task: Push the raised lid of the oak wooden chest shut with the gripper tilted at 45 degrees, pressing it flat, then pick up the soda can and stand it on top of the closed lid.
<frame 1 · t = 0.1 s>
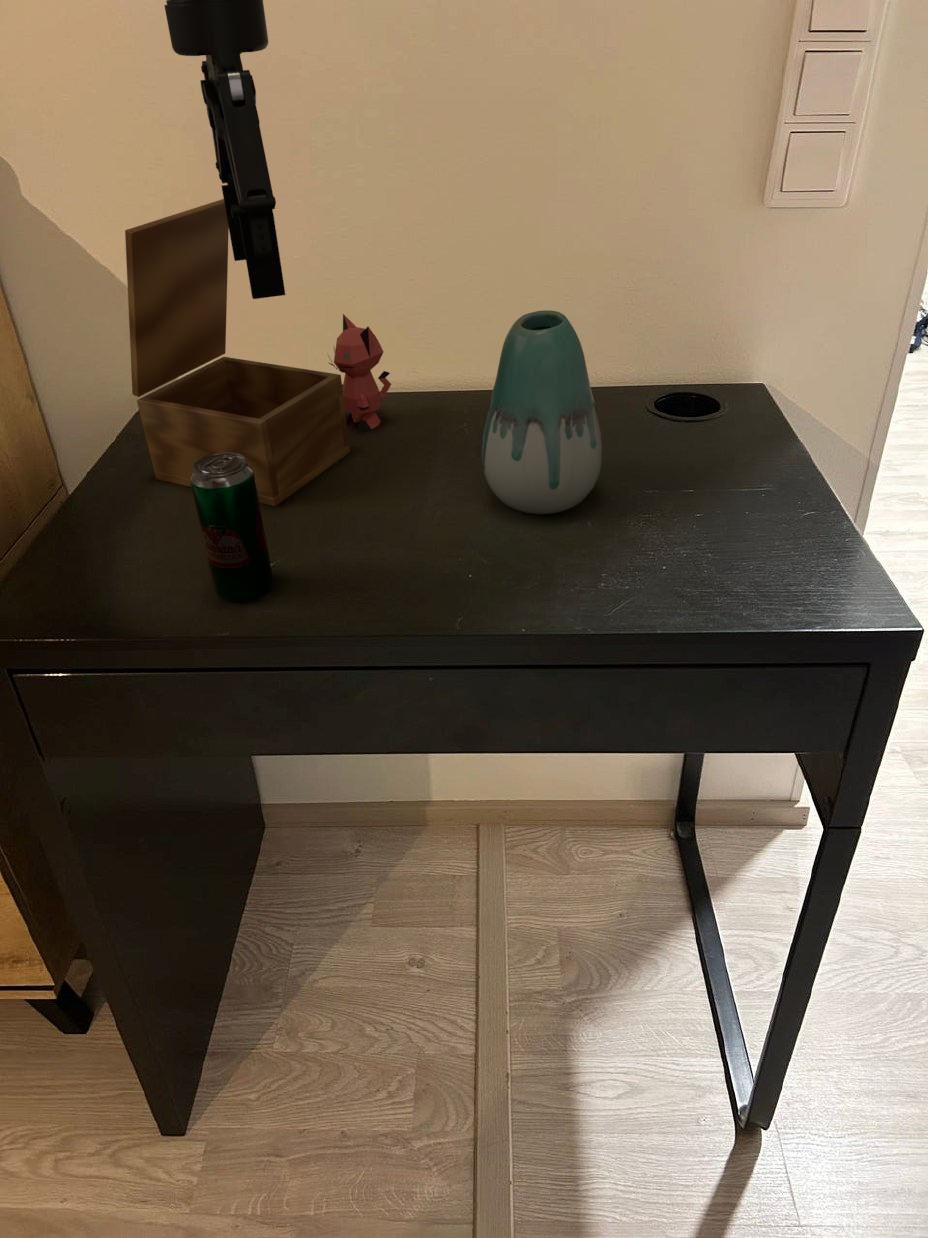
hand: (258, 276, 86), 22 cm above the table, tool pointing down, fingers open, 13 cm apart
chest: (254, 465, 104), on the table
vase: (541, 500, 95), on the table
soda can: (245, 591, 83), on the table
chest lid: (180, 298, 96), point 17 cm above the table, hinge at 75.0°
cat figurine: (366, 422, 113), on the table
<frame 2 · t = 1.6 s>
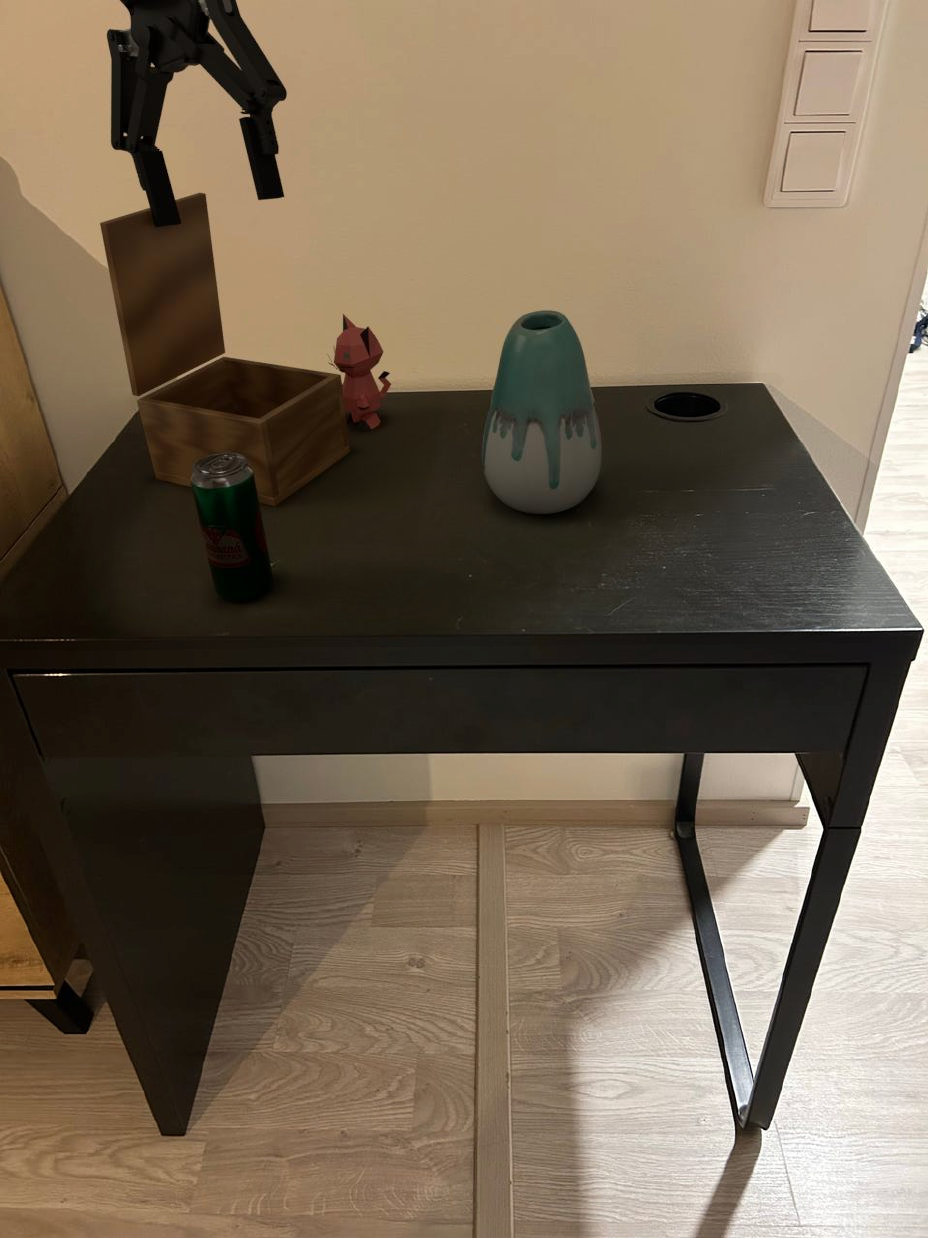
hand: (218, 212, 88), 26 cm above the table, tool tilted 15°, fingers open, 13 cm apart
chest lid: (168, 294, 97), point 18 cm above the table, hinge at 85.3°, touching gripper
everything else where it was.
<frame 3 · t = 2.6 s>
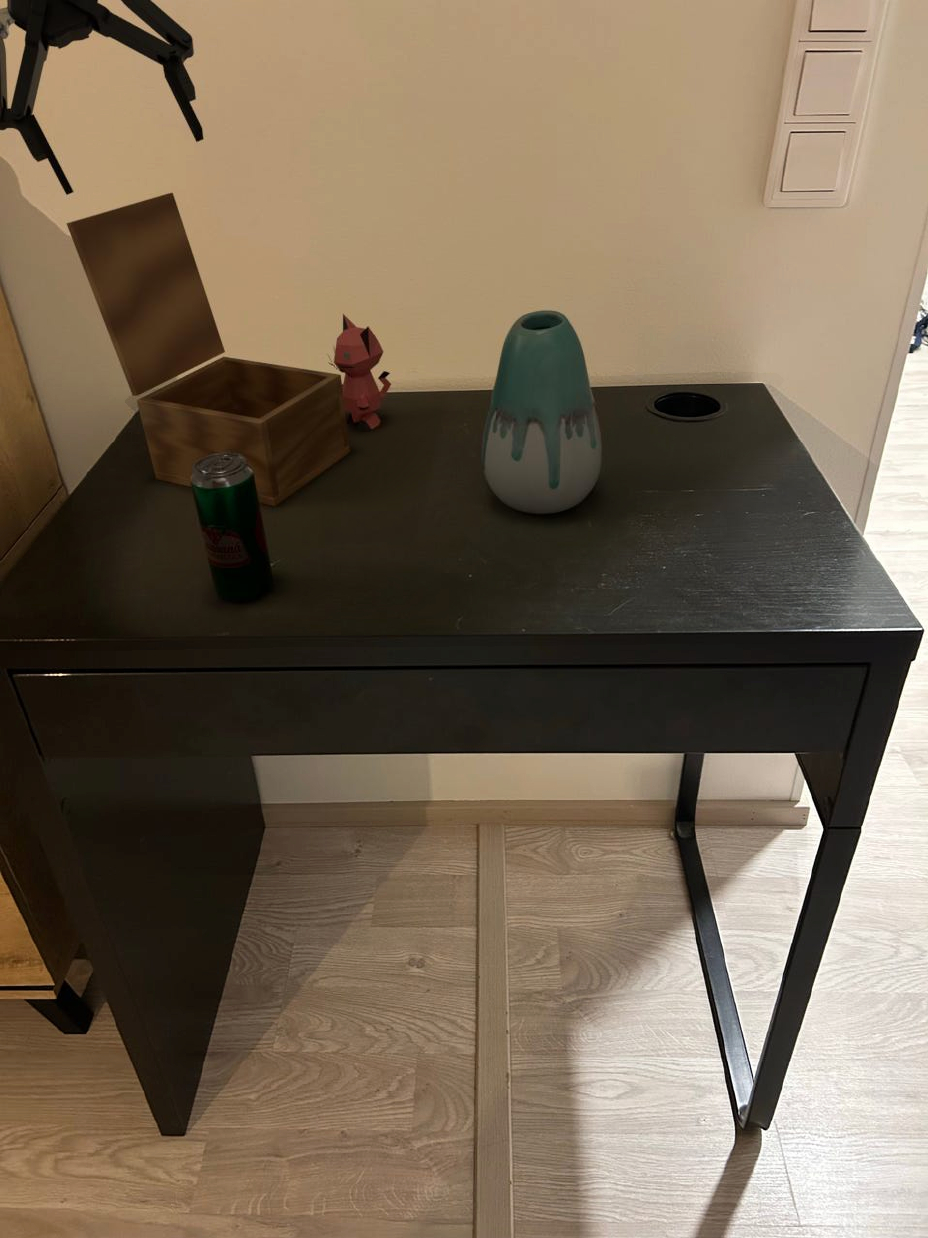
hand: (134, 161, 92), 30 cm above the table, tool tilted 30°, fingers open, 13 cm apart
chest lid: (152, 293, 98), point 18 cm above the table, hinge at 100.3°
everything else where it was.
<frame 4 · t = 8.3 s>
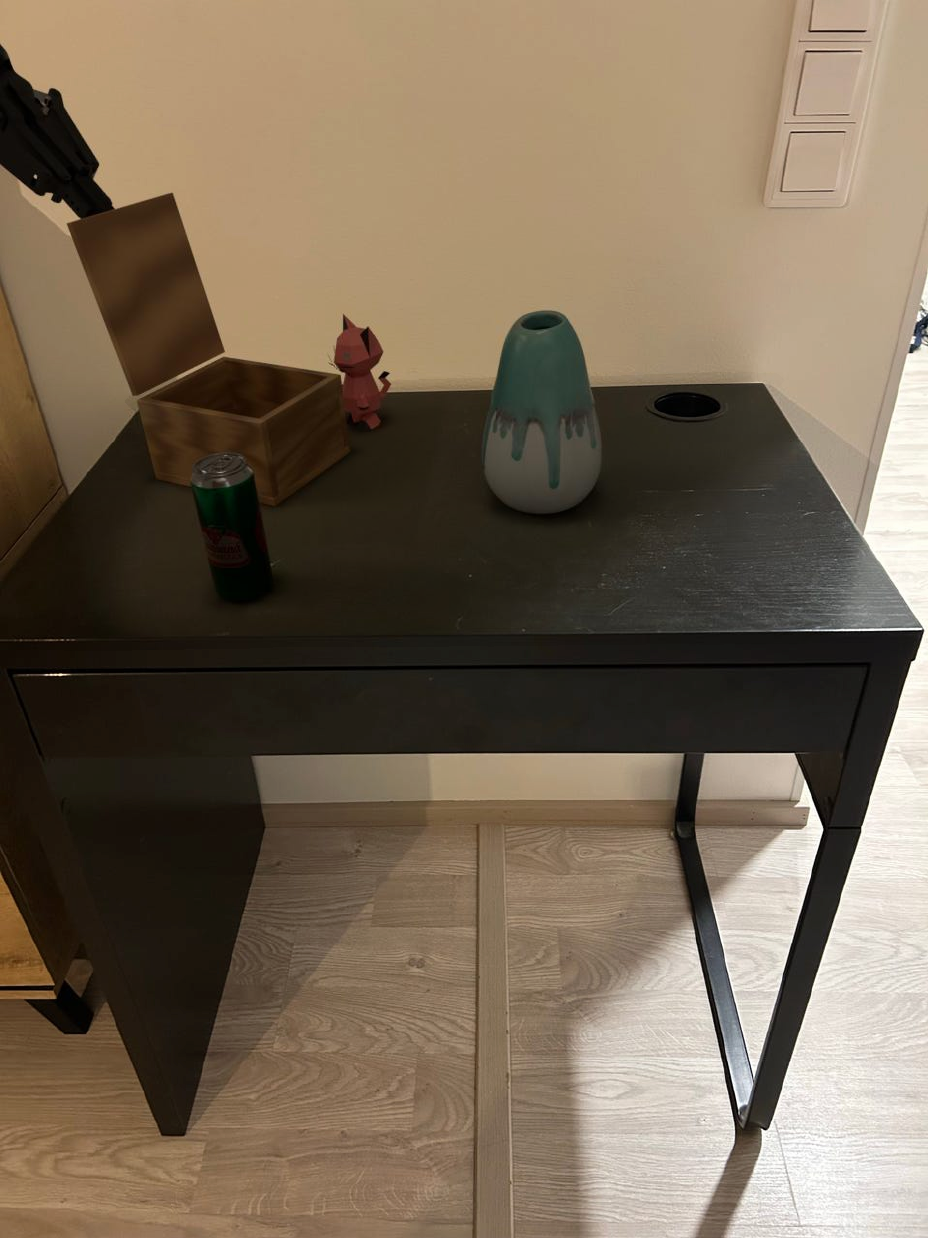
hand: (121, 238, 96), 23 cm above the table, tool tilted 45°, fingers closed
chest lid: (152, 293, 98), point 18 cm above the table, hinge at 100.3°, touching gripper
everything else where it was.
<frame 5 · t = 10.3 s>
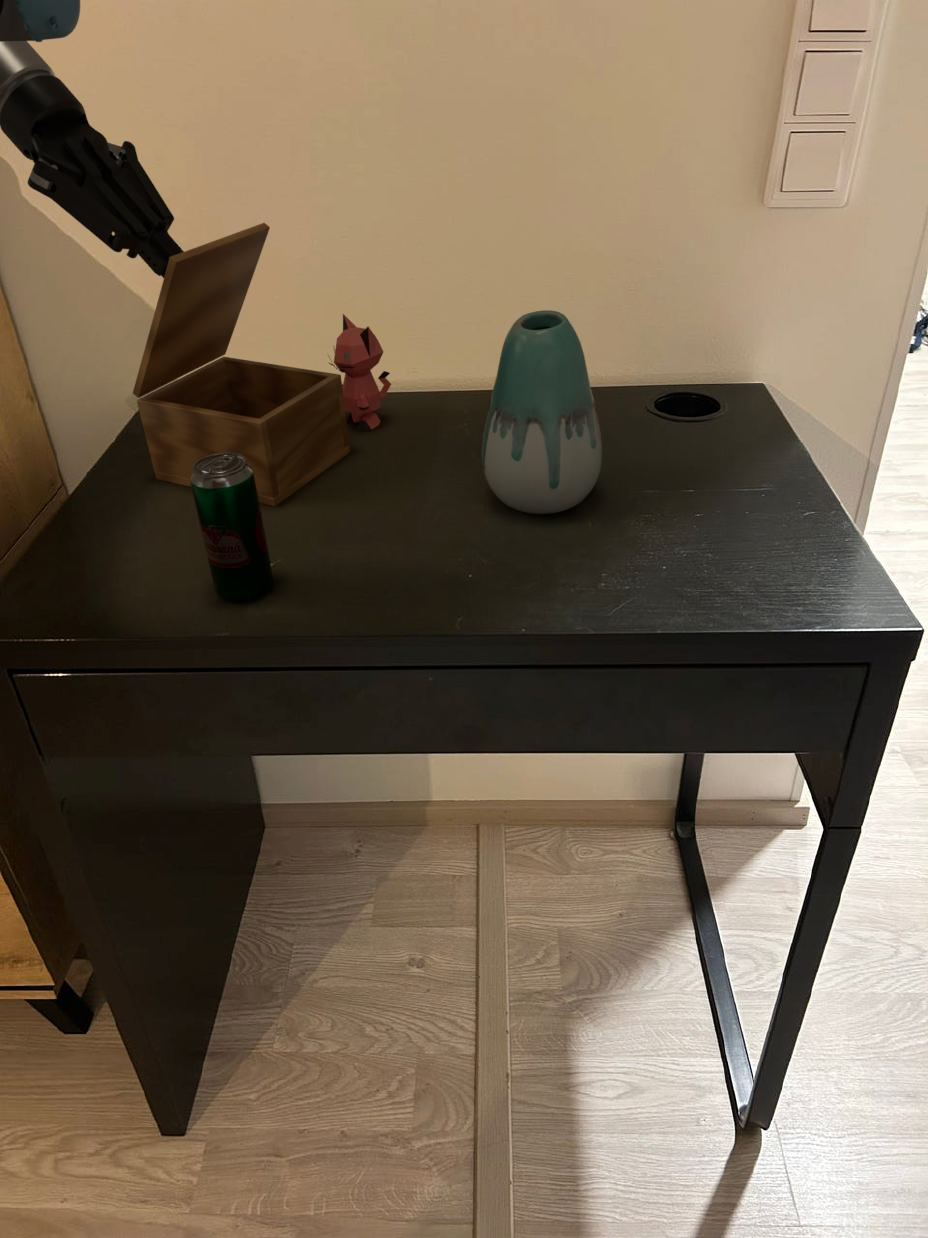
hand: (197, 293, 95), 18 cm above the table, tool tilted 45°, fingers closed
chest lid: (200, 310, 96), point 16 cm above the table, hinge at 57.3°, touching gripper
everything else where it was.
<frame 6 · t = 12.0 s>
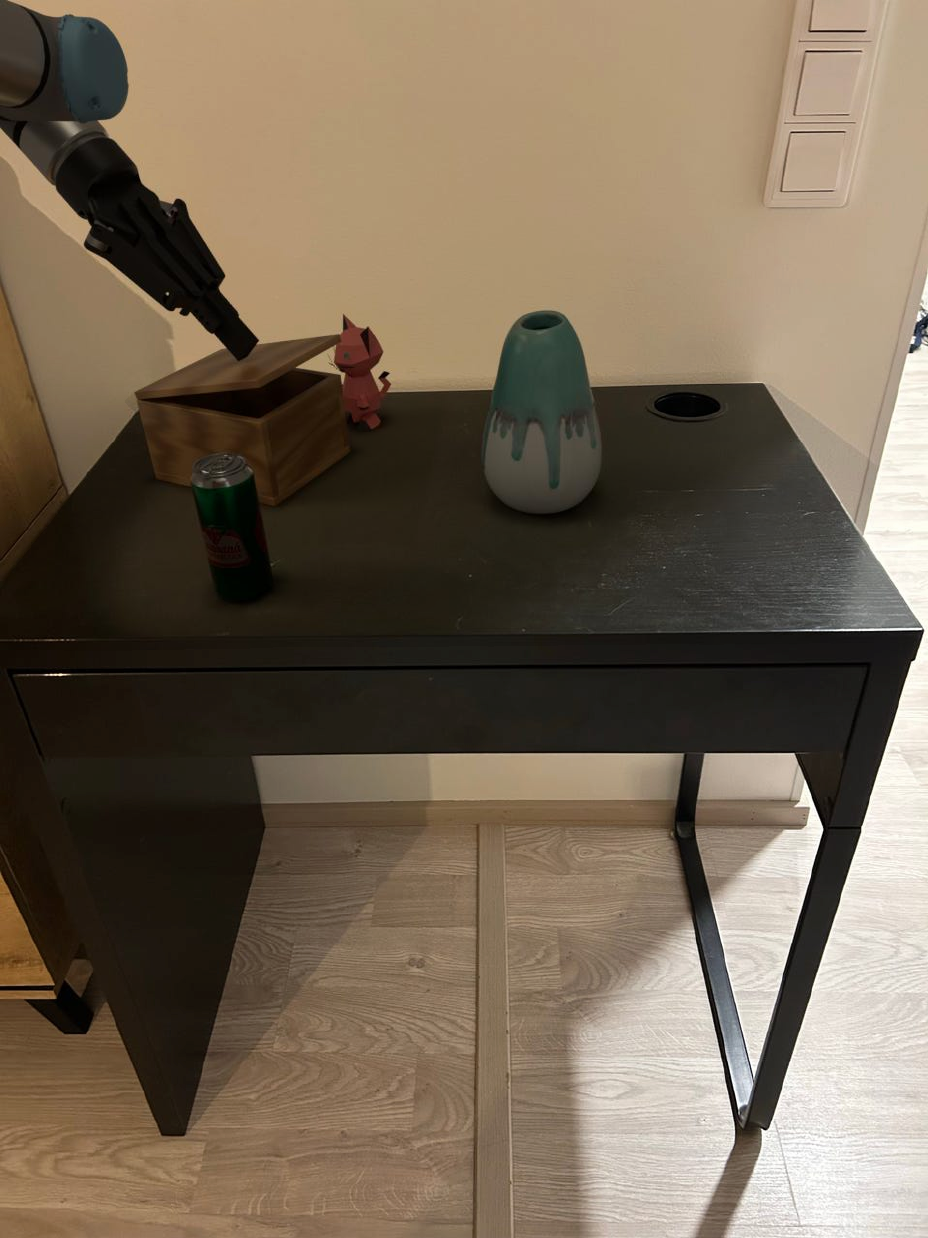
hand: (248, 350, 96), 13 cm above the table, tool tilted 45°, fingers closed
chest lid: (238, 366, 97), point 11 cm above the table, hinge at 12.1°, touching gripper
everything else where it was.
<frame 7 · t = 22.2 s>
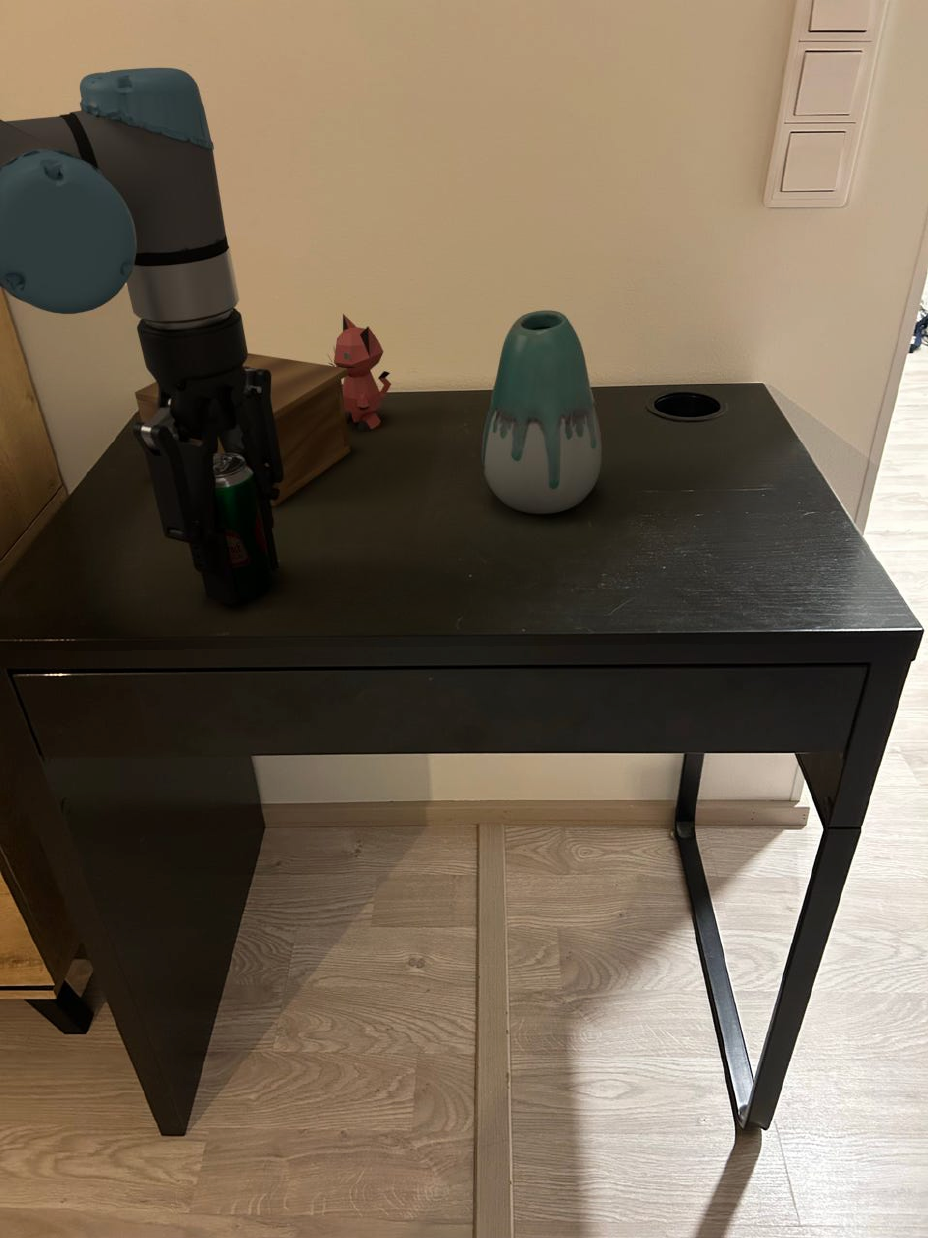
hand: (243, 581, 83), 1 cm above the table, tool pointing down, fingers closed on soda can, 5 cm apart
soda can: (245, 591, 83), on the table, touching gripper
chest lid: (243, 383, 98), point 9 cm above the table, hinge at -0.2°, touching chest
everything else where it was.
when the fingers open (10 cm above the table, at t = 29.4 s): soda can stays where it is, resting on chest lid.
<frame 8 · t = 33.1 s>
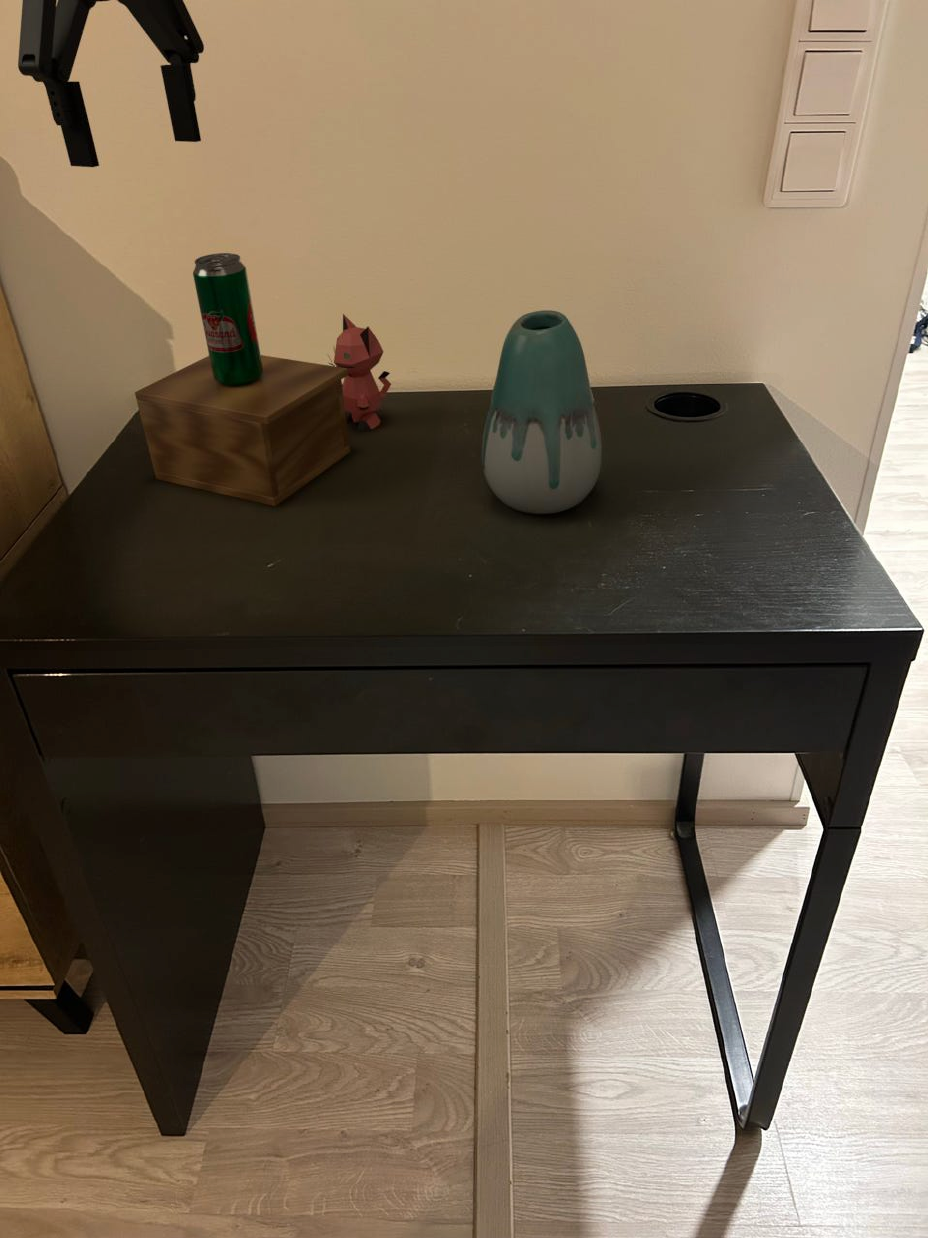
hand: (139, 153, 89), 31 cm above the table, tool pointing down, fingers open, 13 cm apart
soda can: (239, 381, 98), point 10 cm above the table, touching chest lid
chest lid: (243, 383, 98), point 9 cm above the table, hinge at -0.2°, touching chest, soda can
everything else where it was.
at the end: chest lid at +0° (first picture: +75°); soda can inside the target area on the chest (0.0 cm from its centre), point 9.5 cm above the chest's base; soda can tilted 0° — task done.
